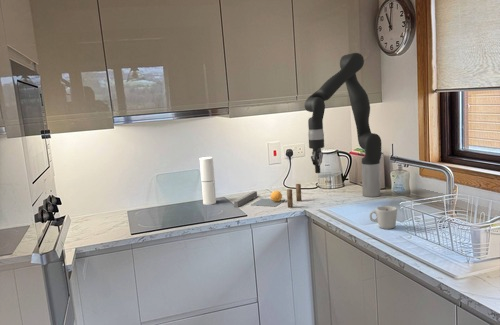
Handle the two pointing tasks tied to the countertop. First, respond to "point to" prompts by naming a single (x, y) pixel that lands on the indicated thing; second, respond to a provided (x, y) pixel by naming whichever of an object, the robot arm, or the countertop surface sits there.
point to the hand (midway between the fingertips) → (318, 172)
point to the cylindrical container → (207, 180)
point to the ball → (276, 196)
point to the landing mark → (267, 202)
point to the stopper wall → (245, 199)
